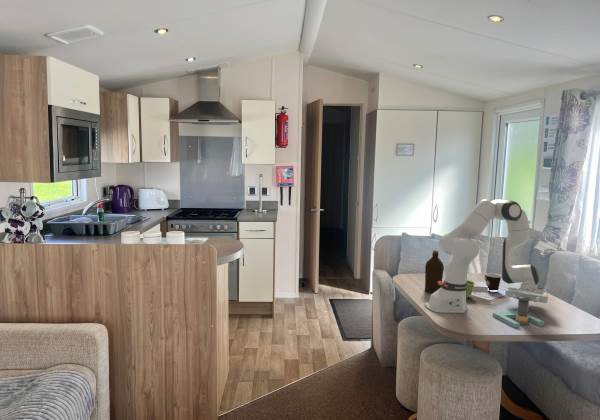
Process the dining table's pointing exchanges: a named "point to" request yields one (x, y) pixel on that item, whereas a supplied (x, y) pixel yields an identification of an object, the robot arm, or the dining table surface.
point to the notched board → (510, 315)
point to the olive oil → (433, 273)
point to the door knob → (522, 310)
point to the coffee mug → (492, 281)
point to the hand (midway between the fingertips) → (525, 298)
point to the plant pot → (469, 288)
